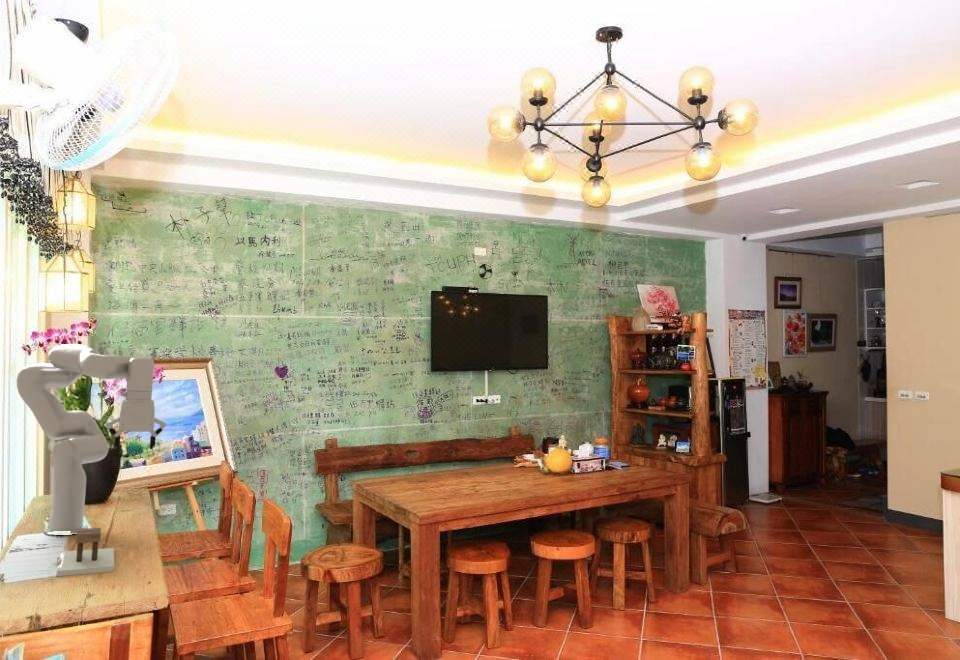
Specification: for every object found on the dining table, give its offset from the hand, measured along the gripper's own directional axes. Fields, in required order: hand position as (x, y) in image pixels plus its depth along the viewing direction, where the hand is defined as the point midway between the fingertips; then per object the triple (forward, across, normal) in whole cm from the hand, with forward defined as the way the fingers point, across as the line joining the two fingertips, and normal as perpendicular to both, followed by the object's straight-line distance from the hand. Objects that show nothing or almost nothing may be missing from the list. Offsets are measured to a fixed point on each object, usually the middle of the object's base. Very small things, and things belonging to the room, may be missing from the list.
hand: (134, 448), depth 222 cm
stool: (+29, -11, -19) cm, 36 cm away
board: (+30, -11, -19) cm, 37 cm away
